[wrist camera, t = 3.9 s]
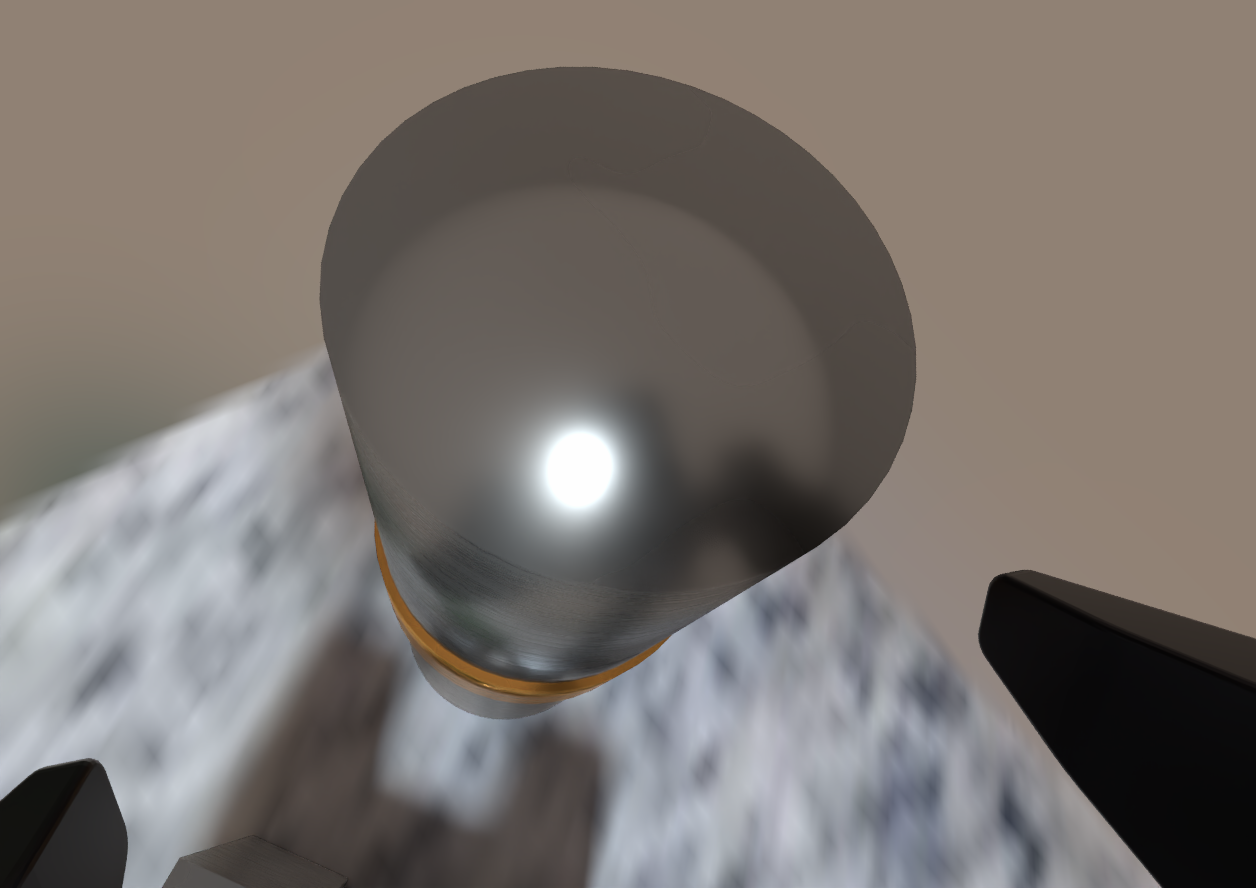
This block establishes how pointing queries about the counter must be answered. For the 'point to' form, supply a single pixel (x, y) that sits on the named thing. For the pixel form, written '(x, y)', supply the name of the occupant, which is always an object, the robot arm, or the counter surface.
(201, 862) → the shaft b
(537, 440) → the sleeve
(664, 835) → the counter surface
